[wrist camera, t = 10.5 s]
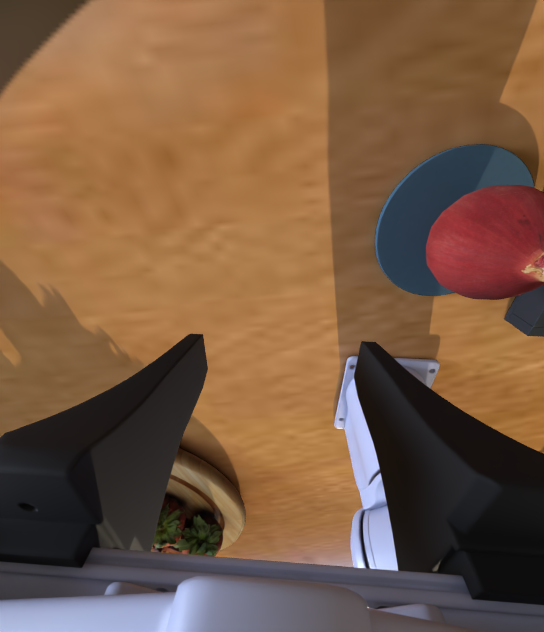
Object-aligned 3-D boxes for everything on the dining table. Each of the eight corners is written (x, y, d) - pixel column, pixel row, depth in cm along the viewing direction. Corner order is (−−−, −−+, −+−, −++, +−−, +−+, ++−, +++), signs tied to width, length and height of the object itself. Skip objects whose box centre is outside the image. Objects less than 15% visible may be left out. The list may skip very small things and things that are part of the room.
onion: (518, 181, 16) (699, 194, 9) (479, 272, 19) (592, 336, 12) (419, 180, 16) (519, 192, 9) (396, 270, 19) (458, 331, 12)
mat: (489, 295, 20) (494, 298, 20) (362, 291, 20) (364, 293, 20) (561, 145, 15) (569, 145, 15) (393, 143, 15) (396, 142, 15)
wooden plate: (150, 555, 50) (127, 620, 43) (-18, 474, 38) (-89, 547, 31) (289, 517, 39) (290, 595, 32) (117, 387, 27) (56, 466, 20)
